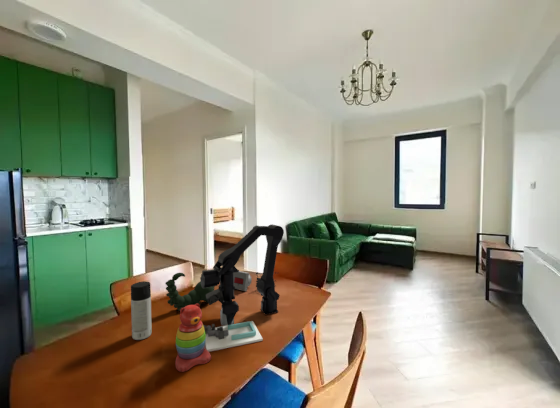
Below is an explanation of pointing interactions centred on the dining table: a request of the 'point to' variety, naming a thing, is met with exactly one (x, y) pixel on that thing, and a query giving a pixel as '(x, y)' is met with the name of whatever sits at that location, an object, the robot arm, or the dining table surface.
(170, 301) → the toy figurine
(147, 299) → the spray can
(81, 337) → the dining table surface
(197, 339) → the stacking bear
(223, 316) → the block
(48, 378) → the dining table surface
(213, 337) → the board
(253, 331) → the end holder
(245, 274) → the voltmeter
